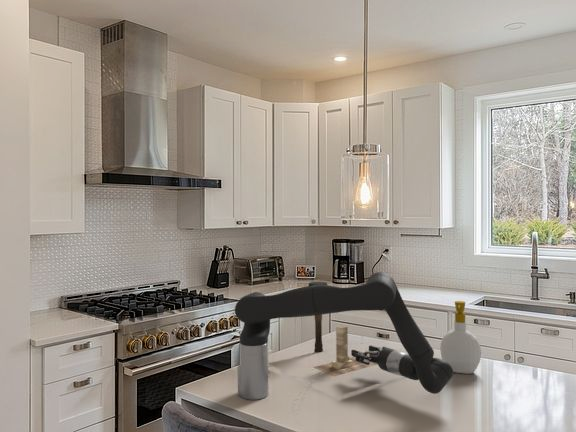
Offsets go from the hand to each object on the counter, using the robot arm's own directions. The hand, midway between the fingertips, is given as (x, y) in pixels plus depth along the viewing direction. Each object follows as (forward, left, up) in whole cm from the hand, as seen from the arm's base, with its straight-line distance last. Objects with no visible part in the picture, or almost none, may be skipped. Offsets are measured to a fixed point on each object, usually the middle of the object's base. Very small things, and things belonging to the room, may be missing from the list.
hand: (360, 350), depth 171 cm
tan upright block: (-9, +5, -9) cm, 13 cm away
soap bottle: (+32, +21, -10) cm, 39 cm away
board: (-5, +11, -10) cm, 16 cm away
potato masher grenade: (-24, +20, -10) cm, 33 cm away
